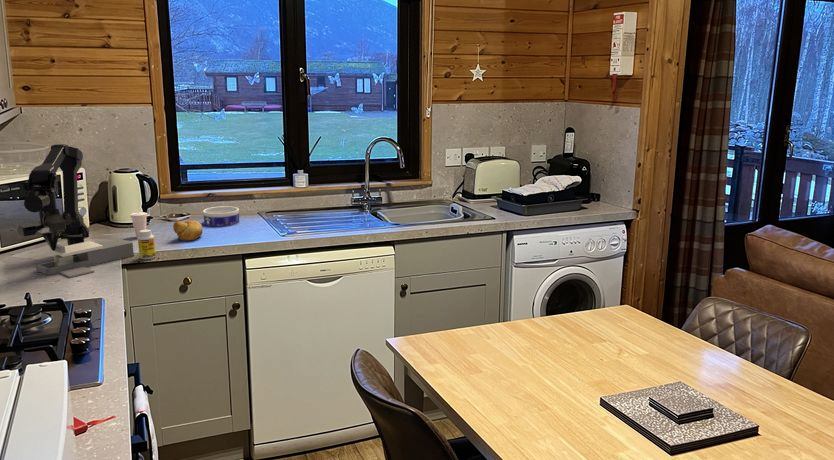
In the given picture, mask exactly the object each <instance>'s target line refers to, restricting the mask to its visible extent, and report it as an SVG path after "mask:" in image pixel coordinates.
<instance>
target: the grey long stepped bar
mask: <svg viewBox="0 0 834 460" xmlns="http://www.w3.org/2000/svg"><path fill="white" fill-rule="evenodd" d="M96 243H97V244H100V245H103V249H98V250H93V251H89V252H84V253H79V254H77V256H73V262H74V263H71V264H66V265H62V266H57V267H55V262H54V260H52V261H47V262H46V261H45V262H42V263H38V264H35V268H36V271H37V272H40V273H41V274H44V275H46V276H51V275H54V274H60V271H65V270H69V269H74V268H78V267H83V266H84V267H86V268H87V267H90V266H94V265H99V264H103V263H107V262H113V261H118V260H121V259H126V258H129V257H134V254H135V253H134V252H135V251H134V244H133V242H131V241H129V240H125V239H122V238H118V239H111V240H109V241H108V240H107V241H103V242H96Z"/></svg>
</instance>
